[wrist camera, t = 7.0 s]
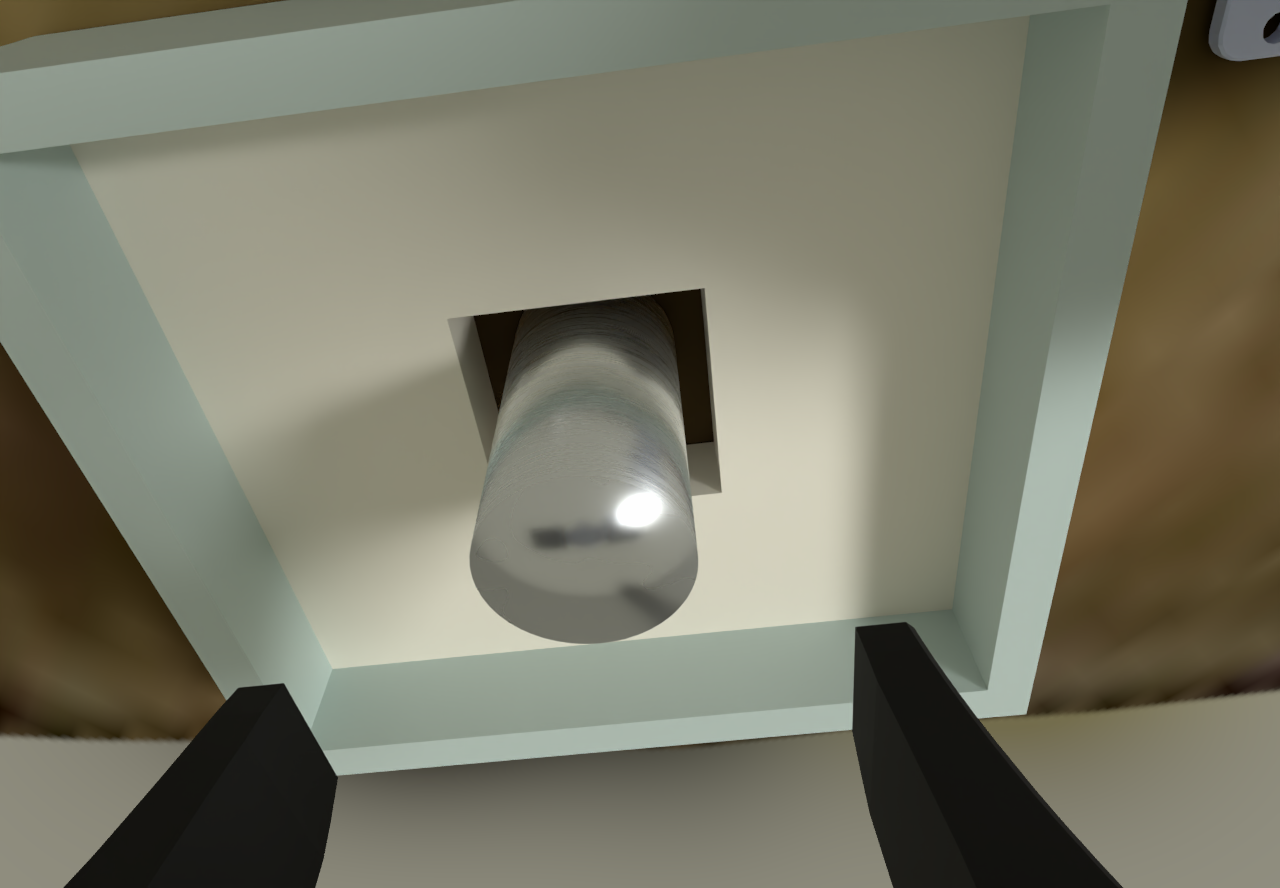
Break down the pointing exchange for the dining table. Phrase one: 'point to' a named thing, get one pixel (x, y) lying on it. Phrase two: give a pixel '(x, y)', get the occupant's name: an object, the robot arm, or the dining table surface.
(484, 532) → the peg
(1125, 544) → the dining table surface
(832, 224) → the caddy
